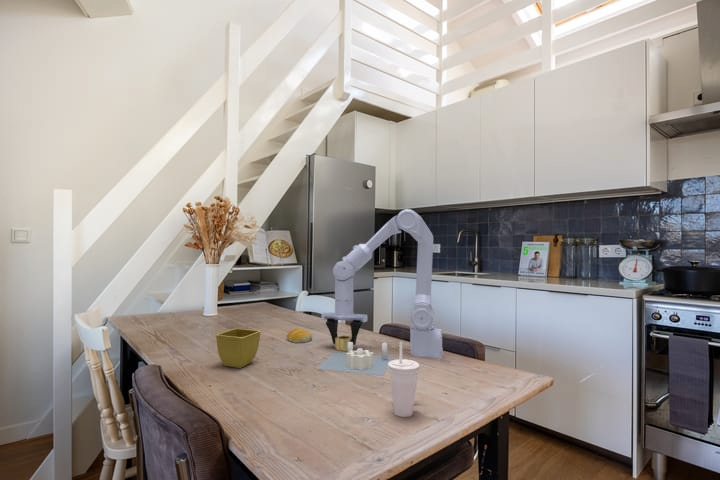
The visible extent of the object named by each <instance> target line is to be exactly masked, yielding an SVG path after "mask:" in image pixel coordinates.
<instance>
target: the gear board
mask: <svg viewBox="0 0 720 480" xmlns="http://www.w3.org/2000/svg"><path fill="white" fill-rule="evenodd" d="M351 350H352V351H354V345H353V342H348V350H347V352H344V351H343V352H341V351H336V352H335V353H333V354H332V355H331V356H329V357H328V358H327V359H326V360H324V361H323V362H321V364H319V365H318V366H316V368H315V370H323V371H324V370H325V371H333V372H334V371H335V372H343V373H350V374H351V373H352V374H361V375H362V374H363V375H371V376H381V377H382V376H384V375H385V373H386V372H387V370H388V363H389V362H390V361H392V360H396V359H395V358H396V357H395V356H388V343H387V342H382V343H381V355H376V354H375V355H374V354H373V366H372V368H371V369H367V368H366V369H363V370H359V369H353V370H352V369H350V367H347V353H349V351H351ZM356 351H357V355H363V351H364V350H363V348H362V347H361V348H360V347H358V348H357V349H356Z"/></svg>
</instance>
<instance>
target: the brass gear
mask: <svg viewBox="0 0 720 480" xmlns="http://www.w3.org/2000/svg"><path fill="white" fill-rule="evenodd" d="M351 339H352V335H337V337H335V344H334V348H335V350H336V351H337V352H341V351H343V352H348V342H351Z"/></svg>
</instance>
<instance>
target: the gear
mask: <svg viewBox="0 0 720 480" xmlns="http://www.w3.org/2000/svg"><path fill="white" fill-rule="evenodd" d="M346 353H347V367H350V369H352V370H353V369H359V370H363V369H366V368H367V369H371V368H372V366H373V355H374V352H373V351H372V352H371V351H370V350H368V349H365V350H363V355H357V350H353V351H352V350H351V351H349V353H348V352H346Z"/></svg>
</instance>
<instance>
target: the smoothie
mask: <svg viewBox="0 0 720 480" xmlns="http://www.w3.org/2000/svg"><path fill="white" fill-rule="evenodd" d="M398 352H399V359H394V360H392V361H390V362H389V363H388V369H387V370H388V371H389V379H390V387H391V394H392V395H391V398H392V405H393V413H394V415H396V416H398V417H402V418H407V417H408V418H409V417H411V416H412V415H413V414H414V406H415V399H416V390H417V382H418V374H419V372H420V370H421V369H420V368H421V367H420V363H419V362H417V361H415V360H411V359H403V342H402V341H399V351H398Z"/></svg>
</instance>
